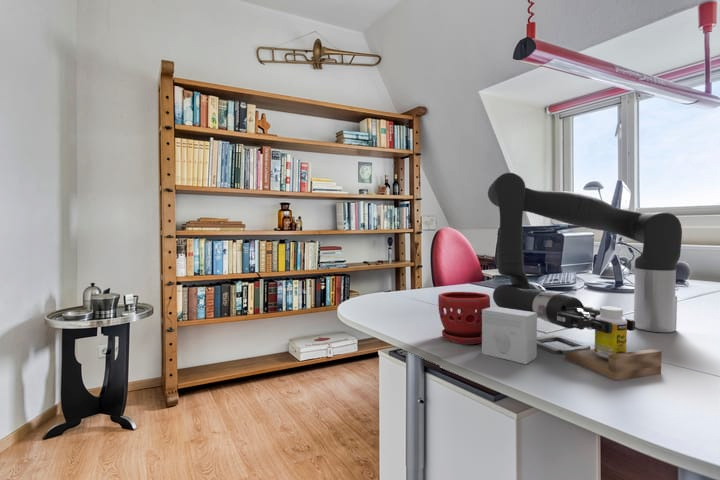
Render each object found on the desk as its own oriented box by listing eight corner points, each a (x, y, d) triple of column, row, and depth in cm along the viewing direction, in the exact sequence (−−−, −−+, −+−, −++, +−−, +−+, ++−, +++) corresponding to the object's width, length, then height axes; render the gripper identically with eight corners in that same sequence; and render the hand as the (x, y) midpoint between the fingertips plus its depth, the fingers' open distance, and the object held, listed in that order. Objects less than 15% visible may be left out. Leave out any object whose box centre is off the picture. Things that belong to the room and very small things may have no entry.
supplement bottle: (618, 362, 75) (620, 312, 75) (589, 354, 80) (590, 307, 79) (630, 357, 78) (632, 308, 78) (602, 349, 83) (603, 303, 82)
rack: (606, 353, 87) (606, 334, 86) (660, 373, 75) (661, 351, 75) (564, 359, 83) (564, 339, 83) (615, 380, 72) (615, 357, 71)
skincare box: (537, 357, 85) (538, 311, 84) (526, 365, 80) (527, 316, 80) (493, 347, 92) (493, 304, 92) (480, 353, 87) (480, 309, 87)
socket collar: (558, 337, 99) (558, 334, 99) (593, 350, 89) (593, 347, 89) (525, 341, 96) (525, 338, 96) (557, 355, 86) (557, 351, 86)
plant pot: (498, 338, 99) (498, 293, 98) (475, 350, 89) (475, 301, 89) (453, 329, 108) (453, 288, 107) (428, 339, 98) (428, 294, 98)
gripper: (533, 295, 90) (595, 311, 74) (580, 292, 94) (649, 306, 78) (532, 326, 91) (594, 348, 74) (579, 321, 95) (648, 342, 79)
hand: (622, 327), depth 76 cm, fingers closed on supplement bottle, 5 cm apart
